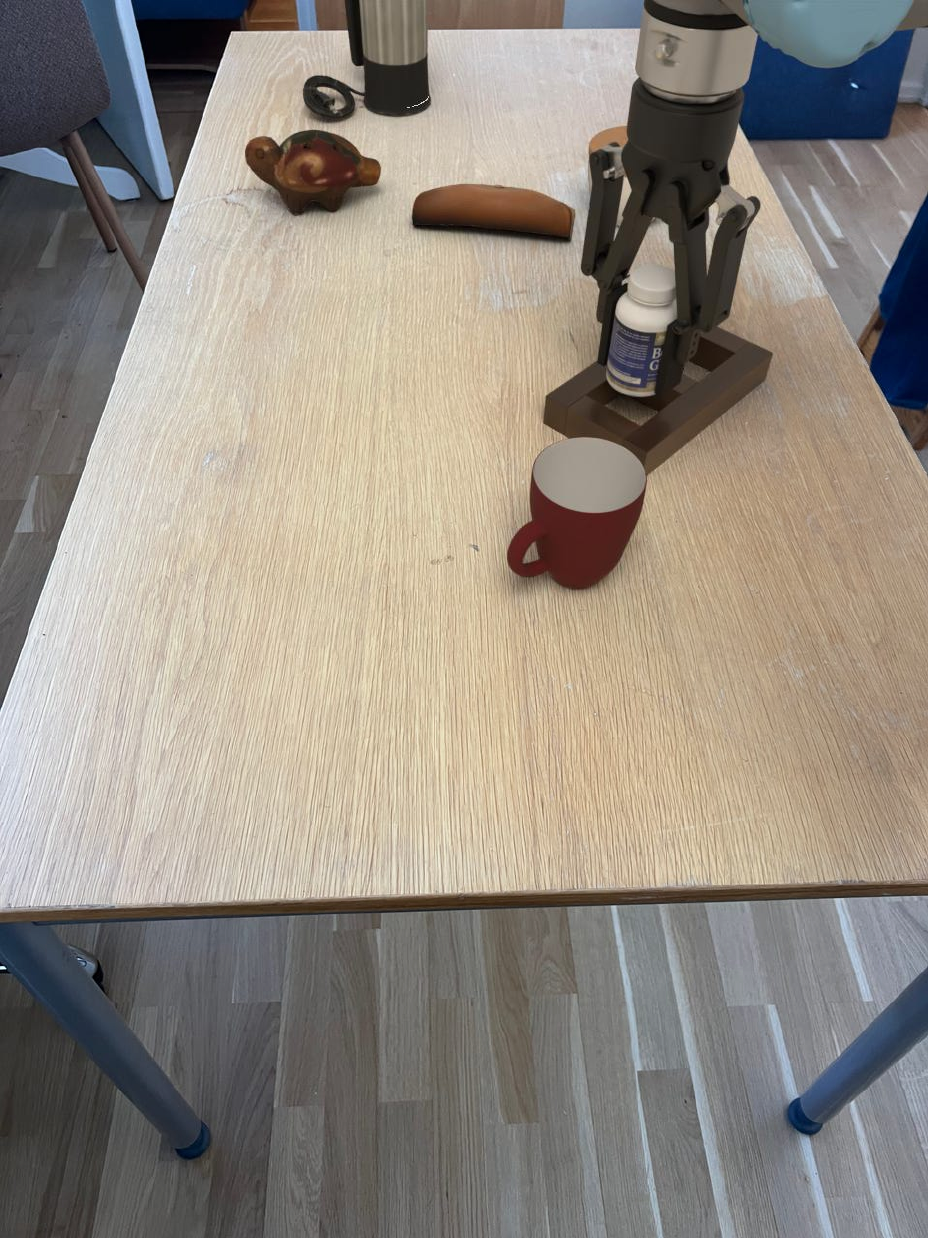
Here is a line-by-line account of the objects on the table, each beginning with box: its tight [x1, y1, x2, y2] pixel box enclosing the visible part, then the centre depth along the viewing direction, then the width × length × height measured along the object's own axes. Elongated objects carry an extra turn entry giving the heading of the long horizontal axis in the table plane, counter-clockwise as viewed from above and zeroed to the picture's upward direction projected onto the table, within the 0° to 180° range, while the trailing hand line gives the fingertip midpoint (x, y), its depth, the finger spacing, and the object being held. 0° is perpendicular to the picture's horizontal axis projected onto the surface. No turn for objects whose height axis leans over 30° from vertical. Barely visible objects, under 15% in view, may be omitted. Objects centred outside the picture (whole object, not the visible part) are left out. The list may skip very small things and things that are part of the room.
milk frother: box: [302, 0, 432, 120], centre depth 122 cm, size 14×16×15 cm
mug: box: [506, 437, 648, 590], centre depth 69 cm, size 10×8×10 cm
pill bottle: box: [606, 263, 677, 397], centre depth 78 cm, size 5×5×10 cm
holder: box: [542, 326, 774, 476], centre depth 86 cm, size 11×20×3 cm, turn 136°
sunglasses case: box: [411, 183, 576, 242], centre depth 106 cm, size 18×7×7 cm, turn 80°
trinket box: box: [587, 125, 656, 227], centre depth 105 cm, size 11×11×9 cm
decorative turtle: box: [244, 129, 382, 215], centre depth 108 cm, size 10×15×8 cm, turn 108°
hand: (638, 372), depth 81 cm, fingers closed on pill bottle, 5 cm apart
